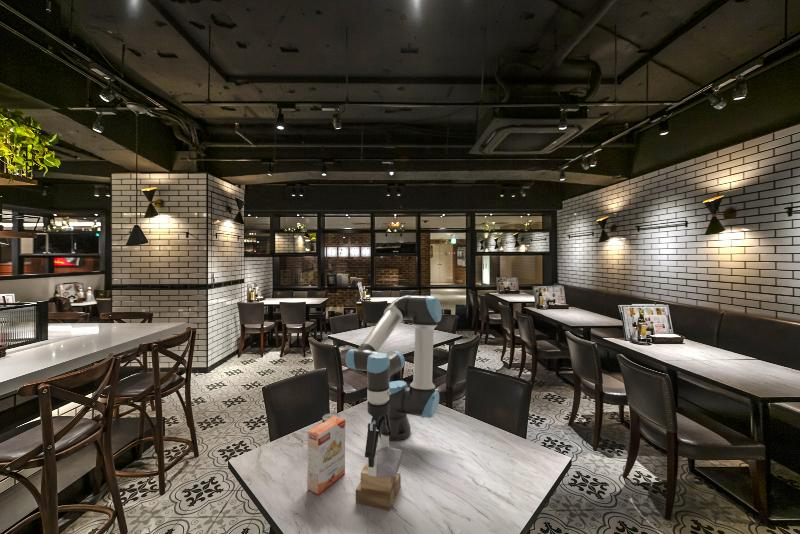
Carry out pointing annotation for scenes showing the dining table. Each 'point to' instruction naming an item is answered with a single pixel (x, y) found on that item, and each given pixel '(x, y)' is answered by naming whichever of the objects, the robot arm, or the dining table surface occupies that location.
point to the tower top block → (375, 481)
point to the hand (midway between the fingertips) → (379, 464)
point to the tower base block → (378, 495)
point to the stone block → (388, 461)
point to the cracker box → (326, 454)
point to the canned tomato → (329, 416)
